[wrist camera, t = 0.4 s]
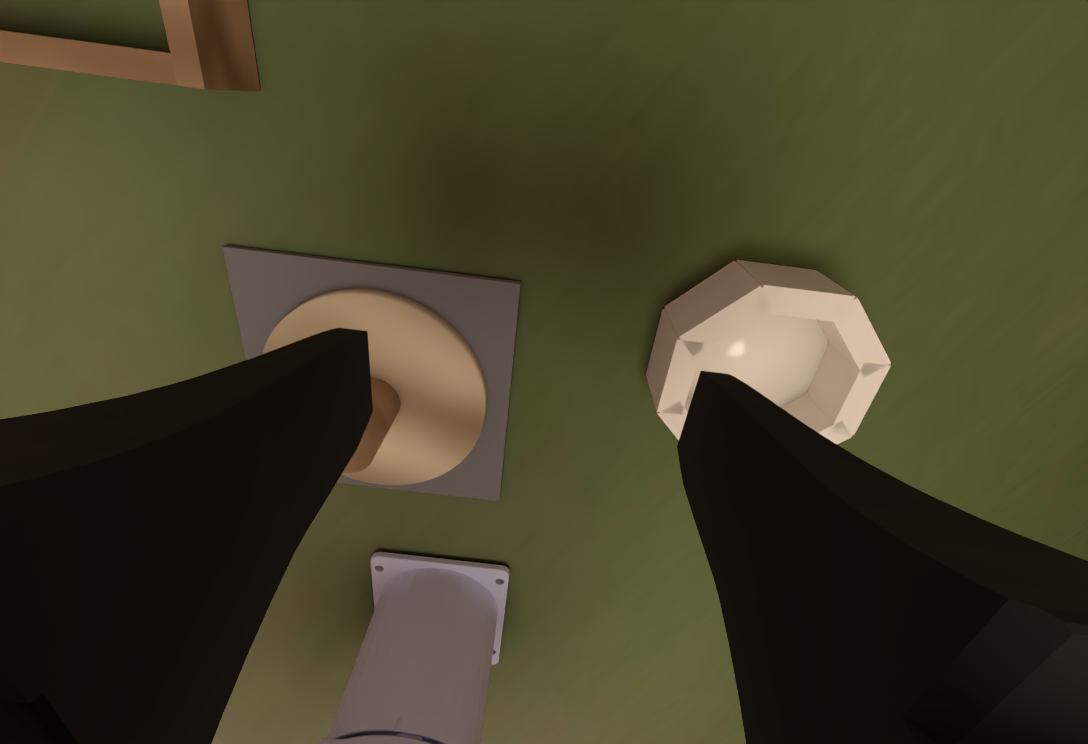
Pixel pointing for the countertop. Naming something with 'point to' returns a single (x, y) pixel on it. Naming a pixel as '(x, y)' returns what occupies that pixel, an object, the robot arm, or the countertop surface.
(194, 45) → the frame
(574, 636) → the countertop surface
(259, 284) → the mat
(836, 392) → the bowl
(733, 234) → the countertop surface
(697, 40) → the countertop surface
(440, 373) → the lid
